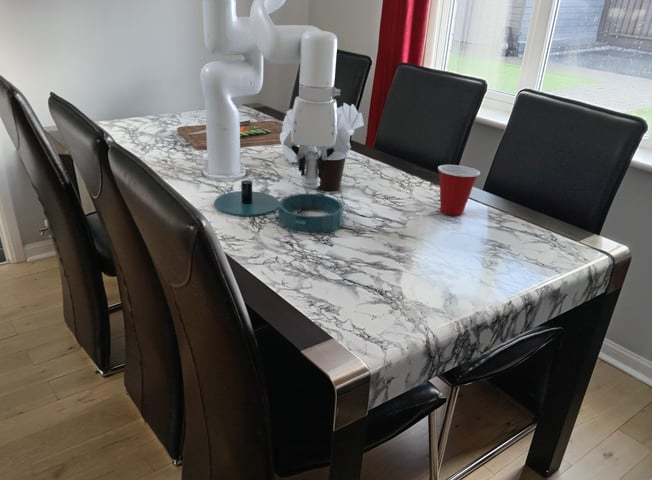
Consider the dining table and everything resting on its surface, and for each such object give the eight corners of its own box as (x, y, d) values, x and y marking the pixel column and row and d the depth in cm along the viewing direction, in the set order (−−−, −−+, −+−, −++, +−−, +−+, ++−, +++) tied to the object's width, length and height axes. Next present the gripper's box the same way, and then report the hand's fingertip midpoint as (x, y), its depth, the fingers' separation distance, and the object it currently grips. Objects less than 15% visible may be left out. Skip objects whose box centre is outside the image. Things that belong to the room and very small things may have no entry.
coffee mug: (340, 196, 160) (343, 161, 155) (310, 192, 161) (311, 157, 156) (347, 183, 170) (349, 149, 165) (318, 179, 171) (320, 146, 166)
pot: (267, 233, 136) (267, 215, 133) (291, 203, 154) (292, 187, 151) (331, 243, 133) (332, 225, 131) (348, 211, 151) (350, 194, 149)
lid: (204, 213, 144) (203, 188, 141) (228, 192, 158) (228, 168, 155) (267, 222, 141) (267, 196, 138) (286, 200, 155) (287, 176, 152)
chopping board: (188, 151, 189) (188, 141, 188) (168, 130, 210) (167, 122, 208) (311, 140, 208) (311, 132, 207) (281, 123, 229) (281, 115, 227)
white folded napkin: (277, 171, 189) (343, 160, 199) (299, 163, 173) (369, 151, 183) (265, 115, 186) (332, 106, 196) (287, 101, 170) (358, 92, 181)
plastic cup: (474, 208, 157) (482, 165, 151) (469, 222, 148) (478, 177, 142) (434, 201, 160) (441, 159, 154) (427, 215, 151) (434, 170, 145)
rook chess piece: (306, 189, 133) (308, 156, 129) (298, 183, 136) (299, 150, 132) (323, 187, 135) (325, 154, 131) (314, 181, 138) (316, 148, 134)
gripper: (353, 92, 128) (346, 171, 138) (279, 87, 128) (277, 166, 137) (354, 99, 122) (347, 182, 131) (276, 94, 121) (274, 177, 131)
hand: (311, 173), depth 134 cm, fingers closed on rook chess piece, 3 cm apart
